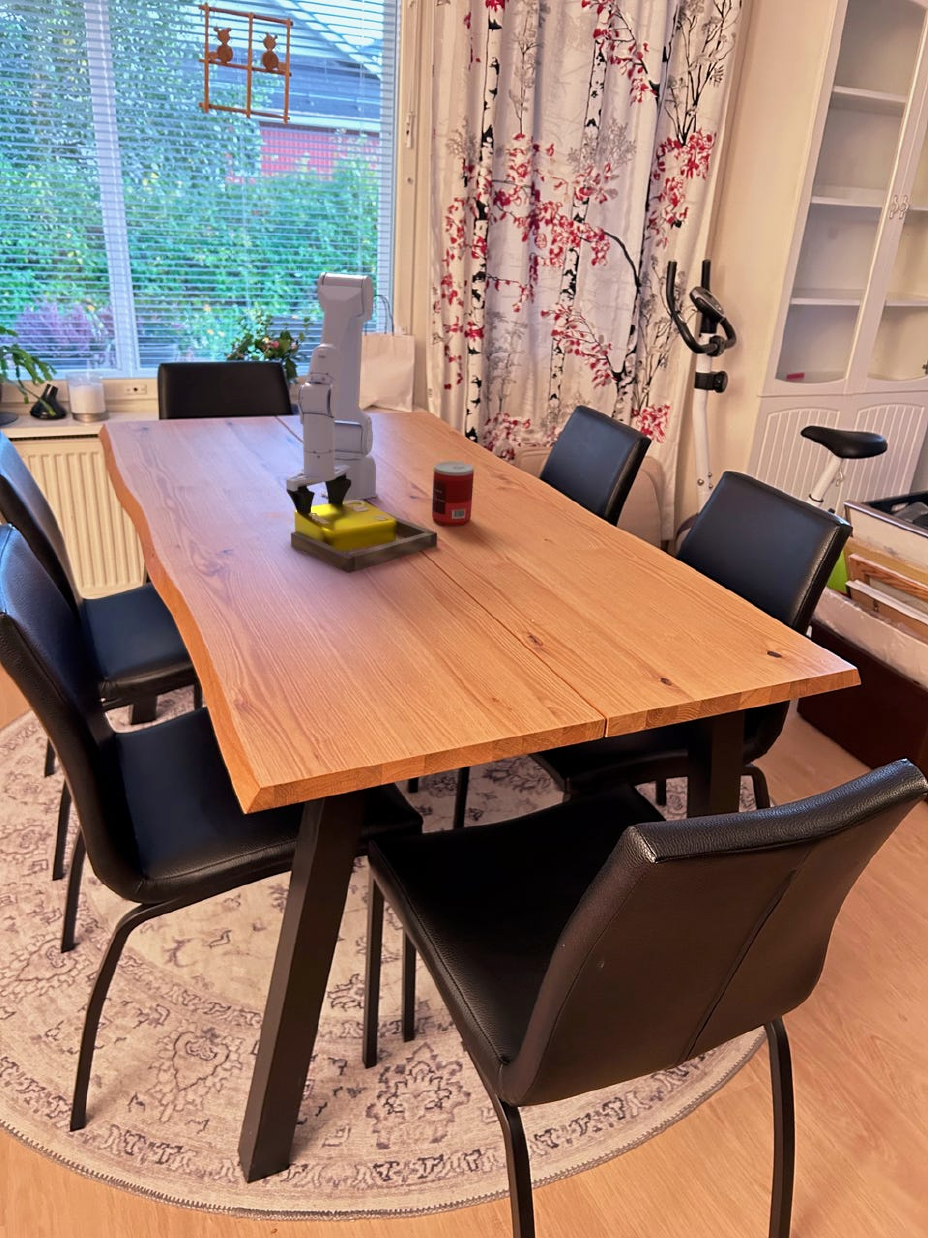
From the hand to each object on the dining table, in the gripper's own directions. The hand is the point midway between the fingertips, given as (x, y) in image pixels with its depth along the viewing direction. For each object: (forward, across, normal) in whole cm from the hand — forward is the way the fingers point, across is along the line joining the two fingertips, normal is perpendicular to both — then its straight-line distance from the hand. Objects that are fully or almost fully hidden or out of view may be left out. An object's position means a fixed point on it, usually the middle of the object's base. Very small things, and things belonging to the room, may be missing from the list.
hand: (319, 519), depth 170 cm
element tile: (+2, 0, +6) cm, 7 cm away
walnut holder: (+1, +1, +12) cm, 13 cm away
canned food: (+2, -22, +15) cm, 26 cm away
